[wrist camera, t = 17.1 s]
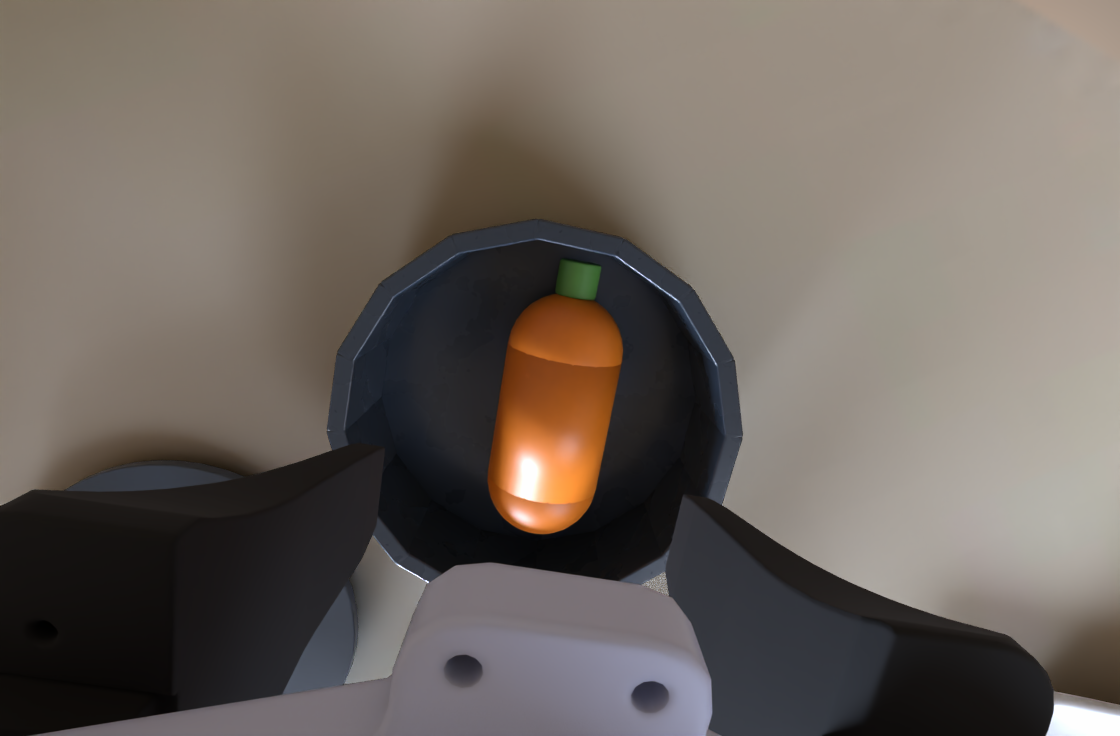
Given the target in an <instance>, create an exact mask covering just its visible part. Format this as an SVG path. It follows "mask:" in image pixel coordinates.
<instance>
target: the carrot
mask: <svg viewBox="0 0 1120 736" xmlns="http://www.w3.org/2000/svg"><path fill="white" fill-rule="evenodd" d="M600 272H601V265H599V264H596V263H591V262H586V261H581V260H575V259H568V258H561V260H560V264H559V270H558V276H557V282H556V288H555V293H557V294H551V295H548V296H545V297H542V298H540V299H538V300H537V301H535V302H533V303H531V304H530V305H529V306H528V307H527V308H526V309H525V310H523V312H522V313H521V314H520V316H519V317H518V318H517V319H516V321H515V323H514V326H513V328H512V330H511V333H510V336H509V340H508V345H507V351H506V358H505V364H504V370H503V377H502V383H501V390H500V396H499V403H498V409H497V416H496V422H495V428H494V435H493V441H492V448H491V454H490V461H489V467H488V480H487V482H488V487H489V493H490V497H491V499H492V502H493V504H494V506H495V508H496V509H497V511H498V512H499V513H500V515H501V516H502V517H503V518H504V519H505V520H506V521H508V522H509V523H510V524H511V525H513V526H514V527H516V528H518V529H520V530H523V531H525V532H529V533H535V534H550V533H555V532H558V531H561V530H564V529H566V528H568V527H569V526H571V525H572V524H574V523H575V522H577V521H578V520H579V519H580V518H581V517H582V516H583V514H584V513H585V512H586V511H587V509H588V508H589V506H590V504H591V503H592V500H593V497H594V494H595V491H596V486H597V481H598V477H599V472H600V467H601V462H602V457H603V452H604V447H605V442H606V437H607V432H608V428H609V423H610V418H611V413H612V408H613V403H614V398H615V393H616V388H617V384H618V379H619V374H620V369H621V364H622V356H623V344H622V337H621V334H620V331H619V328H618V326H617V324H616V322H615V321H614V319H613V317H612V316H611V315H610V314H609V313H608V311H607V310H606V309H605V308H604V307H602V306H601V305H600V304H599V303H597V302H596V301H594V300H595V298H596V293H597V288H598V283H599V277H600Z"/></svg>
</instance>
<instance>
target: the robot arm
mask: <svg viewBox="0 0 1120 736" xmlns="http://www.w3.org/2000/svg"><path fill="white" fill-rule="evenodd" d="M384 452H385V447H382V446H375V445H369V444H363V443H356V444H351V445H347V446H344V447H341V448H338V449H335V450H332V451H329V452H326V453H323V454H321V455H318V456H315V457H312V458H309V459H306V460H303V461H300V462H297V463H294V464H290V465H287V466H284V467H280V468H277V469H274V470H270V471H267V472H263V473H259V474H256V475H251V476H247V477H242V478H237V479H232V480H227V481H222V482H216V483H209V484H202V485H194V486H186V487H178V488H169V489H156V490H140V491H101V492H98V491H58V490H31V491H29V492H28V493H26V494H24V495H22V496H20V497H18V498H16V499H14V500H12V501H10V502H8V503H6V504H4V505H2V506H0V736H1046V734H1047V732H1048V730H1049V726H1050V723H1051V719H1052V716H1053V712H1054V689H1053V687H1052V684H1051V682H1050V679H1049V676H1048V674H1047V672H1046V671H1045V670H1044V669H1043V667H1042V666H1041V665H1040V664H1039V663H1038V661H1037V660H1036V659H1035V658H1034V657H1033V656H1032V655H1030V654H1029V653H1028V652H1027V651H1026V650H1025V649H1024V648H1023V647H1021V646H1020V645H1019V644H1018V643H1017V642H1016V641H1015V640H1013V639H1012V638H1011V637H1009V636H1007V635H1005V634H1001V633H998V632H994V631H990V630H987V629H983V628H979V627H975V626H972V625H968V624H964V623H961V622H957V621H953V620H949V619H946V618H943V617H939V616H936V615H933V614H930V613H927V612H924V611H921V610H918V609H915V608H912V607H909V606H907V605H904V604H901V603H898V602H896V601H893V600H890V599H888V598H885V597H883V596H880V595H878V594H876V593H873V592H871V591H868V590H866V589H864V588H861V587H859V586H857V585H854V584H852V583H850V582H848V581H846V580H844V579H841V578H839V577H837V576H835V575H833V574H831V573H830V572H828V571H826V570H824V569H822V568H820V567H818V566H816V565H814V564H812V563H810V562H809V561H807V560H805V559H803V558H802V557H800V556H798V555H797V554H795V553H793V552H792V551H790V550H788V549H787V548H785V547H784V546H782V545H780V544H779V543H777V542H776V541H774V540H773V539H771V538H770V537H768V536H767V535H765V534H764V533H762V532H761V531H759V530H758V529H756V528H755V527H753V526H752V525H750V524H749V523H747V522H746V521H745V520H743V519H742V518H740V517H739V516H737V515H736V514H734V513H733V512H731V511H730V510H728V509H727V508H725V507H724V506H722V505H721V504H719V503H717V502H715V501H714V500H711V499H709V498H705V497H699V496H692V495H686V494H683V497H682V501H681V505H680V509H679V514H678V518H677V522H676V526H675V530H674V534H673V538H672V542H671V547H670V551H669V555H668V559H667V563H666V567H665V572H666V579H667V585H668V591H669V596H667V595H665V594H662V593H660V592H657V591H655V590H652V589H650V588H647V587H645V586H643V585H639V584H633V583H626V582H619V581H612V580H606V579H599V578H592V577H586V576H579V575H572V574H565V573H559V572H552V571H545V570H539V569H532V568H525V567H519V566H512V565H505V564H498V563H492V562H491V563H479V564H467V565H456V566H454V567H452V568H451V569H449V570H448V571H446V572H445V573H443V574H442V575H440V576H439V577H437V578H435V579H434V580H432V581H431V582H429V583H428V584H427V585H426V587H425V589H424V591H423V594H422V596H421V598H420V600H419V602H418V604H417V607H416V609H415V611H414V613H413V616H412V619H411V621H410V624H409V627H408V629H407V632H406V635H405V637H404V640H403V643H402V645H401V648H400V651H399V654H398V656H397V659H396V662H395V664H394V667H393V671H392V675H391V676H389V677H388V678H383V679H377V680H371V681H365V682H358V683H352V684H346V685H340V686H334V687H327V688H321V689H315V690H309V691H303V692H296V693H290V694H284V695H282V694H283V692H284V690H285V688H286V686H287V684H288V682H289V680H290V678H291V676H292V674H293V672H294V670H295V668H296V666H297V664H298V662H299V660H300V657H301V655H302V653H303V652H304V650H305V648H306V646H307V645H308V643H309V641H310V639H311V638H312V636H313V634H314V633H315V631H316V629H317V628H318V626H319V625H320V623H321V622H322V620H323V619H324V617H325V616H326V614H327V612H328V611H329V609H330V608H331V606H332V605H333V603H334V602H335V600H336V598H337V597H338V595H339V594H340V592H341V591H342V589H343V588H344V586H345V585H346V583H347V581H348V580H349V578H350V577H351V575H352V573H353V572H354V570H355V569H356V567H357V565H358V564H359V562H360V561H361V559H362V557H363V555H364V552H365V550H366V548H367V546H368V544H369V542H370V539H371V537H372V535H373V532H374V530H375V528H376V525H377V516H378V507H379V498H380V489H381V480H382V471H383V462H384Z"/></svg>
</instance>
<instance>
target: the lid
mask: <svg viewBox="0 0 1120 736" xmlns="http://www.w3.org/2000/svg"><path fill="white" fill-rule="evenodd" d="M242 477H244V476H241V475H239V474H236V473H233V472H231V471H228V470H225V469H221V468H217V467H213V466H209V465H205V464H200V463H193V462H185V461H168V460H153V461H144V462H135V463H129V464H125V465H121V466H117V467H112V468H109V469H106V470H104V471H101V472H99V473H96V474H94V475H91V476H89V477H87V478H85V479H83V480H81V481H79V482H78V483H76V484H74V485H72V486H71V487H69V488H67V489H65V490H64V491H98V492H101V491H140V490H156V489H169V488H178V487H186V486H194V485H202V484H209V483H216V482H222V481H227V480H232V479H237V478H242ZM357 639H358V615H357V606H356V601H355V597H354V592H353V588H352V586H351V583H350V580H348V581H347V583H346V585H345V586H344V588H343V589H342V591H341V592H340V594H339V595H338V597H337V598H336V600H335V602H334V603H333V605H332V606H331V608H330V609H329V611H328V612H327V614H326V616H325V617H324V619H323V620H322V622H321V623H320V625H319V626H318V628H317V629H316V631H315V633H314V634H313V636H312V638H311V639H310V641H309V643H308V645H307V646H306V648H305V650H304V652H303V653H302V655H301V657H300V660H299V662H298V664H297V666H296V668H295V670H294V672H293V674H292V676H291V678H290V680H289V682H288V684H287V686H286V688H285V690H284V692H283V694H282V695H284V694H290V693H296V692H303V691H309V690H315V689H321V688H327V687H334V686H340V685H344V683H345V681H346V678H347V676H348V674H349V671H350V669H351V666H352V664H353V660H354V656H355V652H356V648H357Z"/></svg>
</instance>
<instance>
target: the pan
mask: <svg viewBox="0 0 1120 736" xmlns="http://www.w3.org/2000/svg"><path fill="white" fill-rule="evenodd" d="M561 258H568V259H575V260H581V261H586V262H591V263H596V264H599V265H601V272H600V277H599V283H598V288H597V293H596V298H595V300H594V301H596V302H597V303H599V304H600V305H601V306H602V307H604V308H605V309H606V310H607V311H608V313H609V314H610V315H611V316H612V317H613V319H614V321H615V322H616V324H617V326H618V328H619V331H620V334H621V337H622V344H623V356H622V364H621V369H620V374H619V379H618V384H617V388H616V393H615V398H614V403H613V408H612V413H611V418H610V423H609V428H608V432H607V437H606V442H605V447H604V452H603V457H602V462H601V467H600V472H599V477H598V481H597V486H596V491H595V494H594V497H593V500H592V503H591V504H590V506H589V508H588V509H587V511H586V512H585V513H584V514H583V516H582V517H581V518H580V519H579V520H578V521H577V522H575V523H574V524H572V525H571V526H569V527H568V528H566V529H564V530H561V531H558V532H555V533H550V534H535V533H529V532H525V531H523V530H520V529H518V528H516V527H514V526H513V525H511V524H510V523H509V522H508V521H506V520H505V519H504V518H503V517H502V516H501V515H500V513H499V512H498V511H497V509H496V508H495V506H494V504H493V502H492V499H491V497H490V493H489V487H488V482H487V480H488V467H489V461H490V454H491V448H492V441H493V435H494V428H495V422H496V416H497V409H498V403H499V396H500V390H501V383H502V377H503V370H504V364H505V358H506V351H507V345H508V340H509V336H510V333H511V330H512V328H513V326H514V323H515V321H516V319H517V318H518V317H519V316H520V314H521V313H522V312H523V310H525V309H526V308H527V307H528V306H529V305H530V304H531V303H533V302H535V301H537V300H538V299H540V298H542V297H545V296H548V295H551V294H557V293H555V288H556V282H557V276H558V270H559V264H560V260H561ZM327 430H328V431H327V434H328V438H329V441H330V445H331V448H332V450H335V449H338V448H341V447H344V446H347V445H351V444H356V443H363V444H369V445H375V446H382V447H385V452H384V462H383V471H382V480H381V489H380V498H379V507H378V516H377V525H376V528H375V530H374V532H373V536H374V538H375V539H376V540H377V541H378V543H379V544H380V545H381V546H382V548H383V549H384V550H385V551H386V553H387V554H388V555H389V556H390V558H391V559H392V560H393V561H394V562H395V563H396V564H397V565H399V566H400V567H402V568H404V569H405V570H407V571H409V572H411V573H412V574H414V575H416V576H417V577H419V578H421V579H422V580H424V581H426V582H428V583H429V582H431V581H432V580H434V579H435V578H437V577H439V576H440V575H442V574H443V573H445V572H446V571H448V570H449V569H451V568H452V567H454V566H456V565H467V564H479V563H491V562H492V563H498V564H505V565H512V566H519V567H525V568H532V569H539V570H545V571H552V572H559V573H565V574H572V575H579V576H586V577H592V578H599V579H606V580H612V581H619V582H626V583H633V584H639V585H641V584H643V583H645V582H647V581H649V580H650V579H652V578H654V577H656V576H658V575H659V574H661V573H663V572H665V567H666V563H667V559H668V555H669V551H670V547H671V542H672V538H673V534H674V530H675V526H676V522H677V518H678V514H679V509H680V505H681V501H682V497H683V494H686V495H692V496H699V497H705V498H709V499H711V500H714V501H715V502H717V503H719V504H721V505H722V503H723V499H724V496H725V493H726V490H727V487H728V483H729V480H730V477H731V474H732V471H733V467H734V464H735V461H736V458H737V455H738V451H739V448H740V445H741V442H742V437H743V431H742V422H741V413H740V404H739V394H738V385H737V376H736V367H735V361H734V357H733V355H732V354H731V352H730V350H729V349H728V347H727V345H726V343H725V342H724V340H723V338H722V337H721V335H720V333H719V331H718V330H717V328H716V326H715V324H714V323H713V321H712V319H711V318H710V316H709V314H708V312H707V311H706V309H705V307H704V306H703V304H702V302H701V300H700V299H699V297H698V295H697V293H696V292H695V290H693V288H692V287H691V286H690V285H688V284H687V283H685V282H684V281H683V280H681V279H680V278H679V277H677V276H676V275H675V274H673V273H672V272H670V271H669V270H668V269H666V268H665V267H664V266H662V265H661V264H659V263H658V262H657V261H655V260H654V259H653V258H651V257H650V256H648V255H647V254H646V253H644V252H643V251H642V250H640V249H639V248H638V247H636V246H635V245H633V244H632V243H631V242H629V241H628V240H627V239H623V238H622V237H618V236H614V235H609V234H605V233H600V232H596V231H592V230H587V229H583V228H578V227H574V226H570V225H565V224H561V223H556V222H552V221H547V220H543V219H539V220H538V219H532V220H527V221H521V222H516V223H510V224H505V225H500V226H494V227H489V228H483V229H478V230H472V231H467V232H462V233H456V234H453V235H450V236H448V237H447V238H445V239H444V240H442V241H441V242H439V243H438V244H436V245H435V246H433V247H432V248H430V249H429V250H427V251H426V252H424V253H423V254H422V255H420V256H419V257H417V258H416V259H414V260H413V261H411V262H410V263H408V264H407V265H405V266H404V267H402V268H401V269H399V270H398V271H396V272H395V273H393V274H392V275H390V276H389V277H388V278H386V279H385V280H383V281H382V282H381V283H380V284H379V285H378V287H377V288H376V290H375V291H374V293H373V295H372V296H371V298H370V300H369V301H368V303H367V304H366V306H365V308H364V309H363V311H362V312H361V314H360V316H359V317H358V319H357V321H356V322H355V324H354V325H353V327H352V329H351V330H350V332H349V333H348V335H347V337H346V338H345V340H344V341H343V343H342V345H341V346H340V348H339V350H338V353H337V355H336V363H335V371H334V378H333V386H332V394H331V401H330V409H329V416H328V424H327Z"/></svg>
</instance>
